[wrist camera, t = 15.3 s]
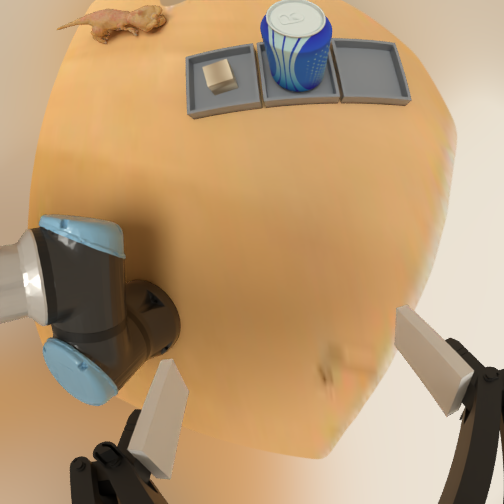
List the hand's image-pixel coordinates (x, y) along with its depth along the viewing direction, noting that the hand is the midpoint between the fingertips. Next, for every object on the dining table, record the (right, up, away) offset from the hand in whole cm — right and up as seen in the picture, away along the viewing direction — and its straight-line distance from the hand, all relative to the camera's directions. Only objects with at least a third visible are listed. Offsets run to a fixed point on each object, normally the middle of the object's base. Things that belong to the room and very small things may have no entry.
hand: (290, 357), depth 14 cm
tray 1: (-7, +34, +25) cm, 42 cm away
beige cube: (-7, +34, +24) cm, 42 cm away
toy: (-28, +54, +25) cm, 65 cm away
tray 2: (+17, +35, +20) cm, 44 cm away
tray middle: (+5, +34, +22) cm, 41 cm away
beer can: (+5, +34, +22) cm, 41 cm away
